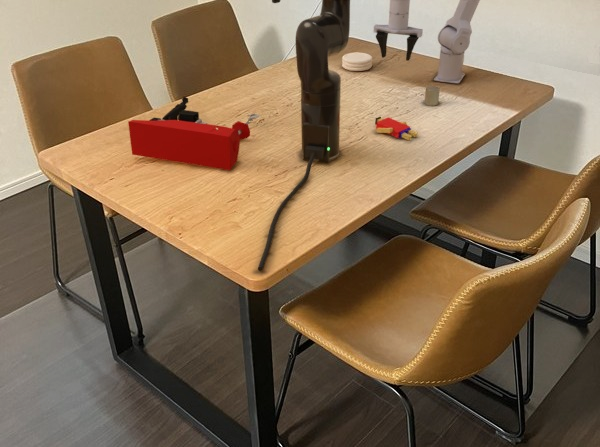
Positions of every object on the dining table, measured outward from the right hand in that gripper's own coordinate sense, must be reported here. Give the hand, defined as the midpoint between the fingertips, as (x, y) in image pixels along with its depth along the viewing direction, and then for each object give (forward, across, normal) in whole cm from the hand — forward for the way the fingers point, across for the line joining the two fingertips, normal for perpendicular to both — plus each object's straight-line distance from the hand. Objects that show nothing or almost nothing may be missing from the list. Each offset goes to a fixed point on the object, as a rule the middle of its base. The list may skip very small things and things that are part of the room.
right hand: (395, 58), depth 189 cm
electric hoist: (+9, -33, -58) cm, 67 cm away
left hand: (-23, -24, -38) cm, 51 cm away
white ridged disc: (+9, -17, +12) cm, 22 cm away
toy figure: (+9, +11, -34) cm, 37 cm away
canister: (+9, +14, -10) cm, 20 cm away
